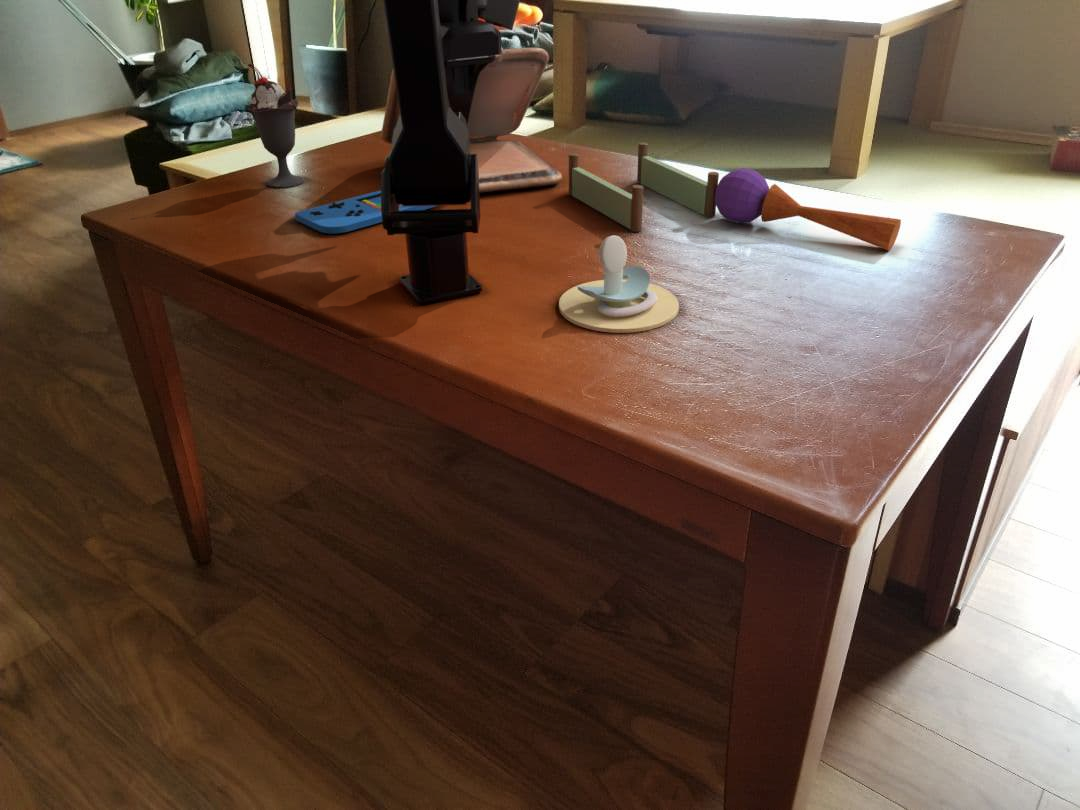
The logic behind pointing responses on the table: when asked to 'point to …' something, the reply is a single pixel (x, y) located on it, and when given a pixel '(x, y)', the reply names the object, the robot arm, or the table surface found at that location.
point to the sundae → (275, 125)
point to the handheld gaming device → (348, 214)
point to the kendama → (794, 209)
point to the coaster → (588, 316)
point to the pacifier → (620, 282)
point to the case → (497, 121)
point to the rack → (650, 175)
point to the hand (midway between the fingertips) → (446, 116)
